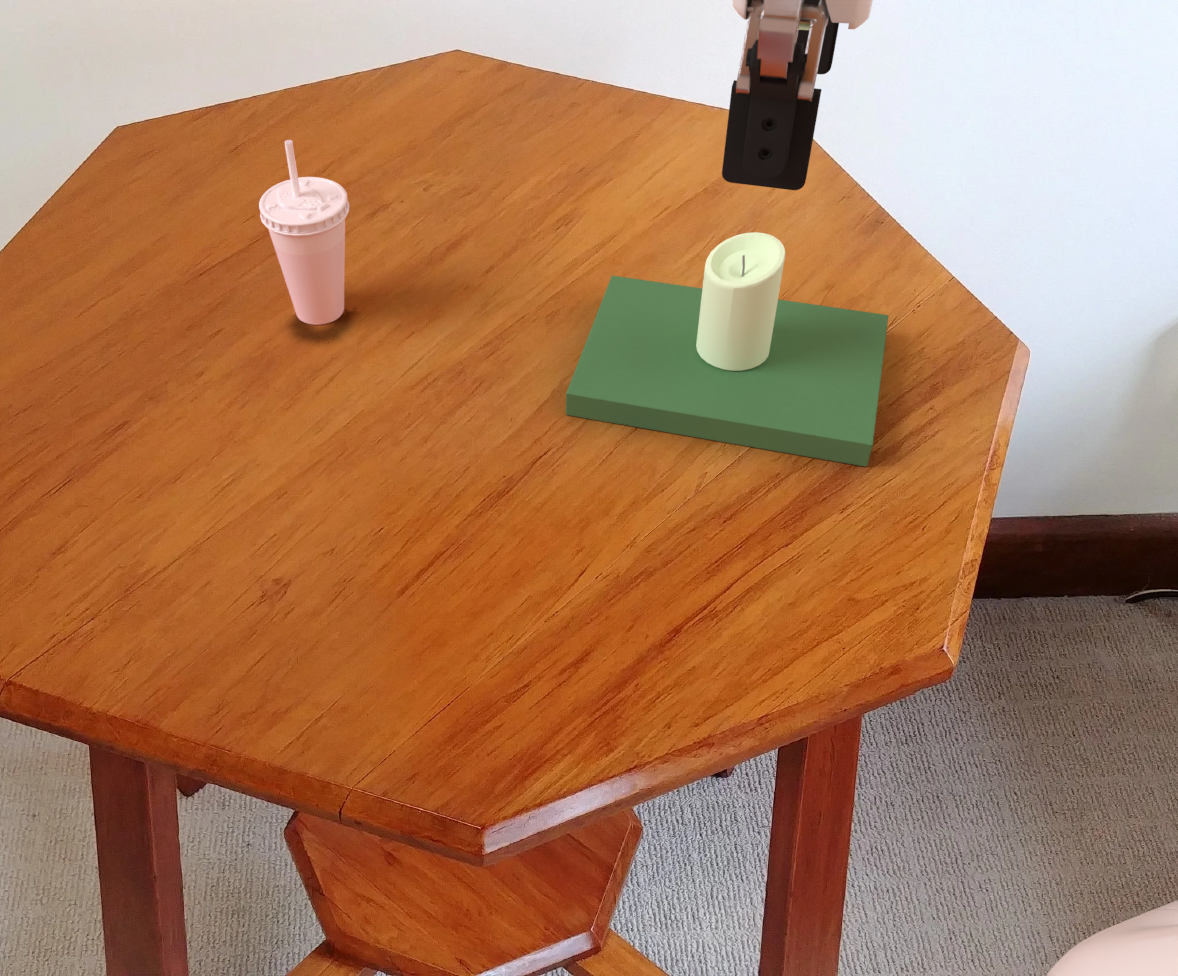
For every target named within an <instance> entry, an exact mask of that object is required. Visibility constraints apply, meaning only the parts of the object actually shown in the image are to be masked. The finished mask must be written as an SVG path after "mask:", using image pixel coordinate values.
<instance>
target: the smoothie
mask: <svg viewBox="0 0 1178 976" xmlns="http://www.w3.org/2000/svg"><path fill="white" fill-rule="evenodd" d="M283 143H284V149H285V155H286V156H285V157H286V162H287V167H288V173H289V179H287V180H284V181H281V182H279V183H276V184H275V185H273V186H271V187H270V188H268V189H267V190H265V192H264V193H263V194H262V196H260V199H259V202H258V210H259V218H260V220H261V223H262V224H263V225H264V226H265V227H266V228H267V229H268V234H269V236H270V239H271V243H272V244H273V248H274V251H275V254H276V257H277V260H278V263H279V266H280V269H281V272H282V275H283V279H284V281H285V284H286V287H287V291H288V294H289V297H290V299H291V303H292V306H293V309H294V312H295V315H296V317H297V318H298V320H299V321H301V322H303V323H305V324H308V325H312V326H313V325H317V326H319V325H320V326H321V325H326V324H330V323H332V322H334V321H336V320H338V319H339V318H341V316H342V315H343V314H344V311H345V276H346V275H345V271H346V269H345V268H346V266H345V264H346V261H345V260H346V259H345V258H346V257H345V256H346V218H347V216H348V215H349V213H350V202H349V200H348V193H347V191H346V189H345V188H344V187H343V186H342V185H341V184H339V183H338V182H336V181H334V180H332V179H329V178H325V177H319V176H318V177H317V176H302V177H301V176H300V177H299V175H298V169H297V162H296V155H295V148H294V142H293V140H292V139H285V141H284V142H283Z"/></svg>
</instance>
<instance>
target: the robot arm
mask: <svg viewBox="0 0 1178 976" xmlns="http://www.w3.org/2000/svg"><path fill="white" fill-rule="evenodd" d="M873 1H874V0H732V7H733V9H734V10H735V11H736V12H737V14H738V15H739V16H740V17H741V18H742V19H743V20H745V21H746V27H745V33H744V38H743V42H742V43H743V44H742V49H741V55H740V61H739V66H738V71H737V77H736V79H734V80H733V82H732V85H731V91H730V100H729V108H728V117H727V127H726V134H725V143H724V151H723V159H722V160H723V161H722V168H721V176H722V178H723V180H724V181H725V182H727V183H731V184H739V185H746V186H754V187H762V188H771V189H778V190H779V189H780V190H788V191H798V190H801V189H803V188H804V186H805V184H806V182H807V181H806V180H807V177H808V171H809V164H810V159H811V153H812V148H813V142H814V135H815V130H816V124H817V119H818V112H819V108H820V107H819V106H820V102H821V94H822V88H816V87H815V86H816V82H817V81H816V80H817V76H818V75H826V74H828V73H830V71H831V69H832V65H833V61H834V56H835V55H834V54H835V49H836V43H837V37H838V34H839V33H838V32H839V27H840V26H839V25H840V24H848V27H847V29H848V30H856V29H857V28H859V27H860V26H862V25H863V24H864V23H865V22H866V21H867V20H869V18H870V14H871V11H872V5H873ZM1045 976H1178V899H1177V900H1174V901H1171V902H1169V903H1167V904H1164V905H1161V906H1159V907H1156V908H1153V909H1151V910H1148V911H1145V912H1143V913H1140V914H1139V915H1136V916H1134V917H1132V918H1128V919H1126V920H1124V921H1121V922H1119V923H1116V924H1114V925H1112V926H1109V927H1107V928H1104V929H1102V930H1100V931H1098V932H1096V933H1094V934H1092V935H1090V936H1089V937H1087V938H1085V939H1083V940H1081V941H1079V943H1077V944H1076V945H1074V946H1073V947H1071V948H1070V949H1069V950H1067V952H1065V953H1064V954H1063V956H1062V957H1060V958H1059V960H1057V961H1056V962H1055V963H1054V965H1053V966H1052V967H1051V969H1050V970H1049V971H1048V972H1047V973H1046V975H1045Z"/></svg>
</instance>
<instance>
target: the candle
mask: <svg viewBox="0 0 1178 976" xmlns="http://www.w3.org/2000/svg"><path fill="white" fill-rule="evenodd" d="M786 253H787V252H786V249H785V245H784V244H783V243H782V241H781V240H780V239H778V238H777V237H775V236H774V235H772V234H768V233H765V232H757V231H753V232H745V233H739V234H736V235H733V236H731V237H729V238H727V239H725V240H723V241H722V242H720V243H719V244H717V245H716V246H715V247H714V248H713V249H712V250H711V251H710V253H709V254H708V256H707V257H706V260H705V265H704V271H703V279H702V287H701V288H702V297H701V306H700V315H699V324H698V333H697V342H696V347H697V352H698V353H699V355H700V357H701V358H702V359H704V360H705V361H706V362H707V363H709V364H711V365H713V366H714V367H717V368H720V369H723V370H730V371H742V370H747V369H752V368H754V367H756V366H759V365H760V364H762V363H763V362H764V361H765V360H766V359H767V357H768V356H769V351H770V345H771V339H772V333H773V327H774V321H775V315H776V309H777V303H778V299H779V295H780V289H781V284H782V277H783V272H784V265H785V259H786Z"/></svg>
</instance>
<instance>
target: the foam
mask: <svg viewBox="0 0 1178 976" xmlns="http://www.w3.org/2000/svg"><path fill="white" fill-rule="evenodd" d="M702 288H703V287H696V286H695V287H694V286H689V285H681V284H676V283H675V284H674V283H667V282H661V281H660V282H659V281H653V280H647V279H640V278H632V277H626V276H618V275H611V276H610V279H609V281H608V284H607V286H606V289H605V291H604V295H603V297H602V299H601V302H600V305H599V308H598V310H597V312H596V315H595V318H594V320H593V323H592V326H591V327H590V330H589V333H588V335H587V338H586V341H585V344H584V345H583V348H582V351H581V354H580V355H579V356H580V357H579V359H578V362H577V364H576V367H575V369H574V372H573V375H572V377H571V379H570V382H569V385H568V387H567V390H566V393H565V415H566V416H568V417H569V416H570V417H576V418H582V419H586V420H593V421H598V422H603V423H611V424H616V425H620V426H621V425H622V426H627V427H633V428H640V429H644V430H645V429H646V430H651V431H655V432H661V433H669V434H673V435H679V436H685V437H691V438H697V439H703V440H709V441H714V442H720V443H727V444H732V445H737V446H743V447H749V448H753V449H760V450H766V451H772V452H778V453H783V454H788V455H789V454H790V455H795V456H800V457H807V458H813V459H818V460H825V461H830V462H834V463H842V464H846V465H847V464H848V465H853V466H859V467H865V468H867V467H868V466H869V462H870V458H871V454H872V450H873V447H874V441H875V440H874V439H875V430H876V423H877V415H878V406H879V397H880V388H881V380H882V374H883V373H882V372H883V364H884V357H885V348H886V342H887V341H886V339H887V333H888V331H887V330H888V323H889V315H888V314H884V313H877V312H869V311H864V310H857V309H848V308H841V307H835V306H827V305H821V304H815V303H807V302H800V301H794V300H788V299H787V300H786V299H779V298H778V303H777V309H776V315H775V321H774V327H773V333H772V339H771V345H770V351H769V356H768V357H767V359H766V360H765V361H764V362H763V363H762V364H760V365H759V366H756V367H754V368H752V369H747V370H742V371H730V370H723V369H720V368H717V367H714V366H713V365H711V364H709V363H707V362H706V361H705V360H704V359H702V358H701V357H700V355H699V353H698V352H697V347H696V342H697V333H698V324H699V315H700V306H701V297H702Z"/></svg>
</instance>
